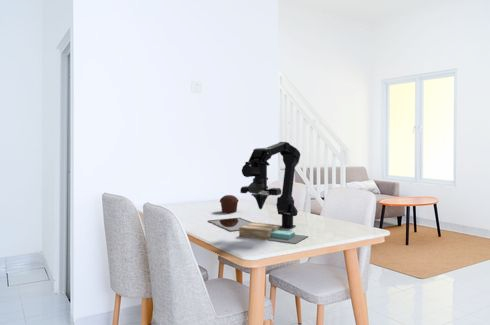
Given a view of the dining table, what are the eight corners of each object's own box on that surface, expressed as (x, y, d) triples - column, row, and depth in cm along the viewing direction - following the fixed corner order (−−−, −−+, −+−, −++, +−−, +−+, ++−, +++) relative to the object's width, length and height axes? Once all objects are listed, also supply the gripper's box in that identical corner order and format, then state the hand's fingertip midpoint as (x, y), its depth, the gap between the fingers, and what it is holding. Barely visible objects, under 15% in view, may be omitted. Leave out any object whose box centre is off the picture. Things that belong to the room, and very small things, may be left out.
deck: (253, 230, 206) (253, 222, 205) (279, 233, 199) (280, 225, 199) (239, 236, 194) (239, 227, 193) (266, 239, 187) (266, 230, 186)
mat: (281, 233, 199) (281, 232, 199) (308, 236, 192) (308, 236, 192) (267, 240, 186) (267, 239, 186) (295, 244, 179) (295, 243, 179)
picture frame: (264, 228, 212) (239, 219, 236) (264, 226, 212) (239, 217, 236) (230, 232, 203) (207, 222, 228) (230, 230, 203) (207, 220, 227)
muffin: (237, 210, 264) (237, 194, 264) (239, 213, 253) (239, 196, 253) (218, 210, 263) (218, 194, 262) (220, 213, 252) (220, 196, 251)
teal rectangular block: (276, 234, 196) (276, 230, 195) (294, 236, 191) (294, 232, 191) (270, 236, 190) (271, 232, 190) (289, 239, 186) (289, 234, 186)
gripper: (234, 176, 193) (234, 210, 194) (271, 178, 184) (271, 213, 185) (246, 174, 202) (246, 206, 203) (281, 176, 194) (281, 209, 194)
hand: (260, 209), depth 196 cm, fingers closed
